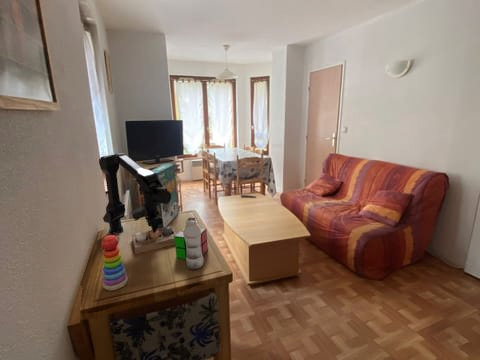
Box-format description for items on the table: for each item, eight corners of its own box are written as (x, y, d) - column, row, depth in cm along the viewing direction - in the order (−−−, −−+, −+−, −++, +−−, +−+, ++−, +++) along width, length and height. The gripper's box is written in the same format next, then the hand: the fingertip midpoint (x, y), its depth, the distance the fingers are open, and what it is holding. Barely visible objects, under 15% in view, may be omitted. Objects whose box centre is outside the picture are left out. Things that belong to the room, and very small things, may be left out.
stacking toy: (112, 294, 85) (102, 244, 80) (98, 286, 89) (89, 238, 85) (132, 281, 92) (125, 234, 87) (119, 274, 96) (111, 229, 91)
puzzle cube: (208, 249, 112) (206, 228, 109) (197, 261, 103) (195, 239, 100) (188, 246, 115) (186, 225, 113) (176, 257, 106) (173, 236, 103)
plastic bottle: (200, 272, 96) (196, 223, 90) (183, 270, 97) (179, 222, 92) (206, 262, 102) (202, 216, 97) (190, 261, 103) (186, 215, 98)
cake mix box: (169, 212, 155) (164, 164, 147) (178, 212, 154) (174, 164, 146) (152, 228, 134) (145, 172, 126) (163, 228, 133) (157, 173, 125)
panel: (132, 240, 122) (131, 234, 121) (172, 231, 130) (171, 225, 129) (135, 253, 110) (135, 247, 109) (179, 242, 118) (178, 236, 117)
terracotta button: (150, 237, 120) (149, 231, 120) (159, 235, 122) (158, 229, 121) (151, 241, 117) (150, 235, 116) (160, 239, 119) (160, 232, 118)
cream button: (136, 239, 118) (135, 233, 117) (145, 237, 119) (145, 231, 119) (137, 243, 114) (136, 237, 113) (147, 241, 116) (146, 234, 115)
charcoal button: (162, 233, 123) (162, 227, 122) (171, 231, 125) (170, 225, 124) (164, 237, 119) (163, 230, 118) (173, 234, 121) (172, 228, 120)
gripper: (129, 198, 119) (133, 228, 123) (133, 210, 103) (138, 245, 107) (153, 194, 124) (157, 223, 128) (161, 205, 108) (165, 238, 112)
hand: (154, 232), depth 119 cm, fingers closed, pressing on terracotta button
